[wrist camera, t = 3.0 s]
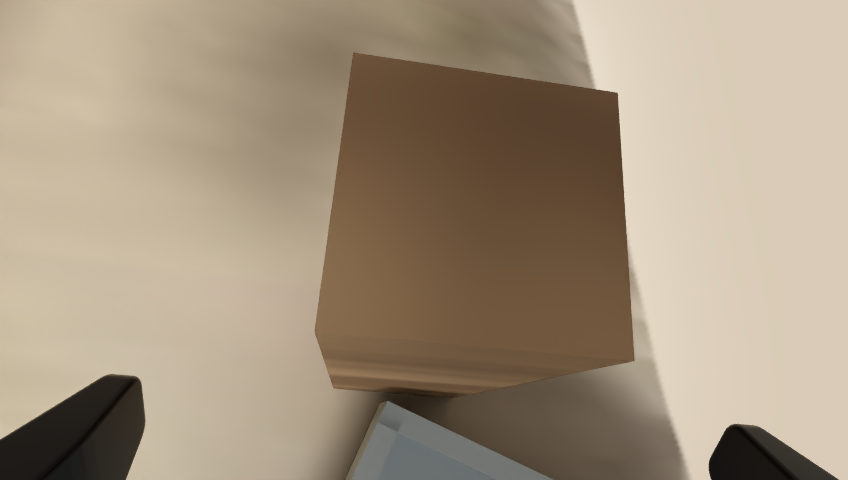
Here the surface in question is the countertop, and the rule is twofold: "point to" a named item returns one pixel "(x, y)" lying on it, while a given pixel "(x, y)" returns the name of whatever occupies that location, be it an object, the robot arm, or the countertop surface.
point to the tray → (427, 452)
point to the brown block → (473, 233)
